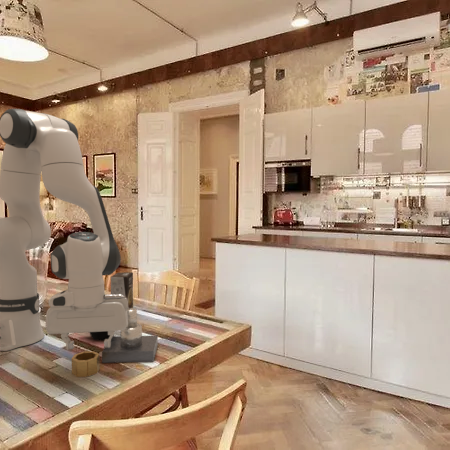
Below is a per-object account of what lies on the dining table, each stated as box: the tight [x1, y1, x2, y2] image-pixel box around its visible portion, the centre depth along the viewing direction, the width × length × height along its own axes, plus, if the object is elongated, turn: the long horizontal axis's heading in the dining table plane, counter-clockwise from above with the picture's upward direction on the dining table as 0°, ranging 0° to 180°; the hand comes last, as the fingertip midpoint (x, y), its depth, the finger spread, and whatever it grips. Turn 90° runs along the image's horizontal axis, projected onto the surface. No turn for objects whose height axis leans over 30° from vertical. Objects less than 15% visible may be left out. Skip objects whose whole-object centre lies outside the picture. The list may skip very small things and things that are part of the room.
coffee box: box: [110, 272, 134, 308], centre depth 149 cm, size 9×6×16 cm
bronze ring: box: [71, 350, 101, 378], centre depth 102 cm, size 6×6×4 cm
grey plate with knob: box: [101, 307, 159, 364], centre depth 114 cm, size 14×12×13 cm
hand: (89, 347), depth 102 cm, fingers open, 8 cm apart
